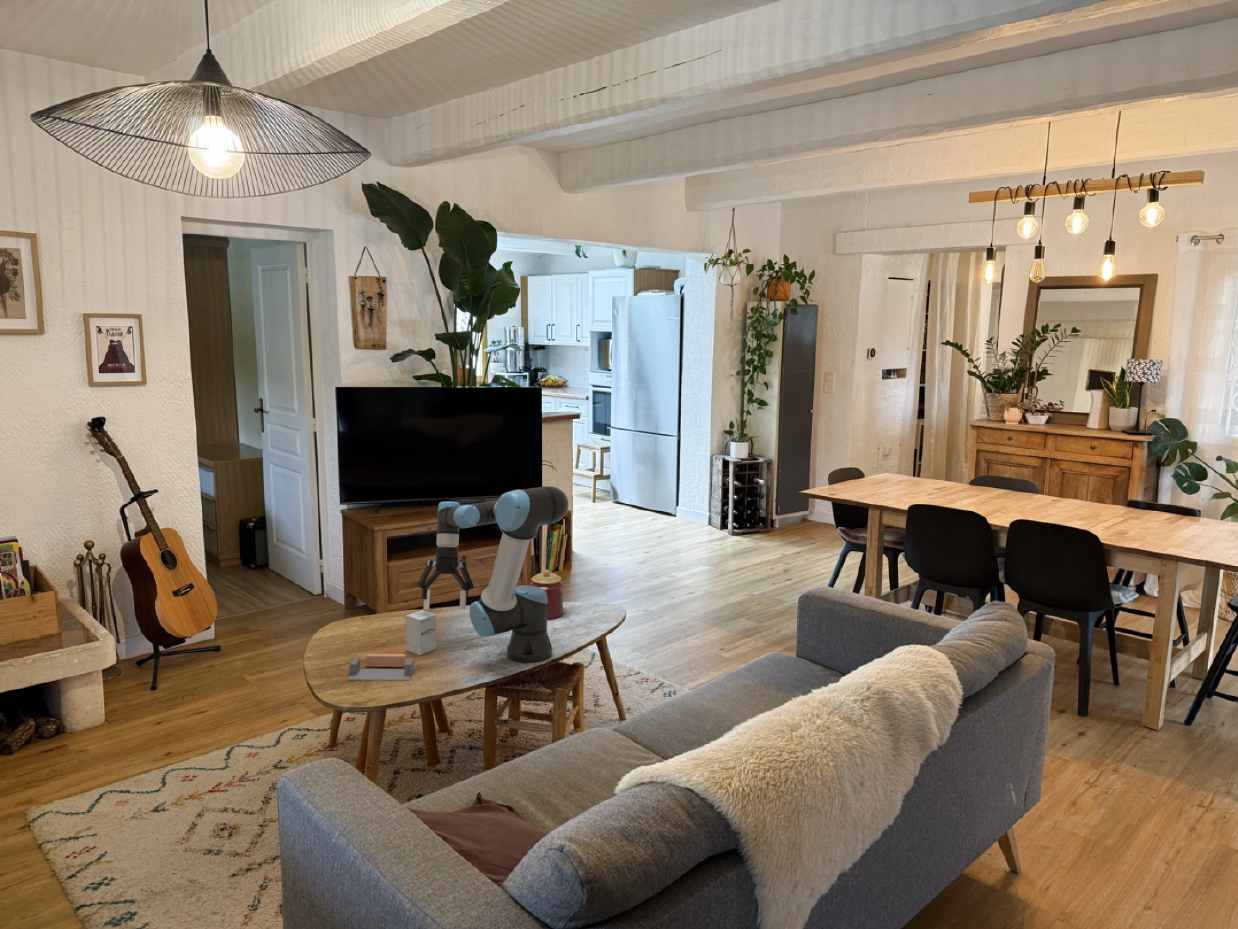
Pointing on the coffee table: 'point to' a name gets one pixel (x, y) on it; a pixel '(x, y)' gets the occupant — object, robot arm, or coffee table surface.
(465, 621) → the coffee table surface
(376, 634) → the coffee table surface
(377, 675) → the housing
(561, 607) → the canister
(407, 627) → the supplement box
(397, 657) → the pink eraser brick
